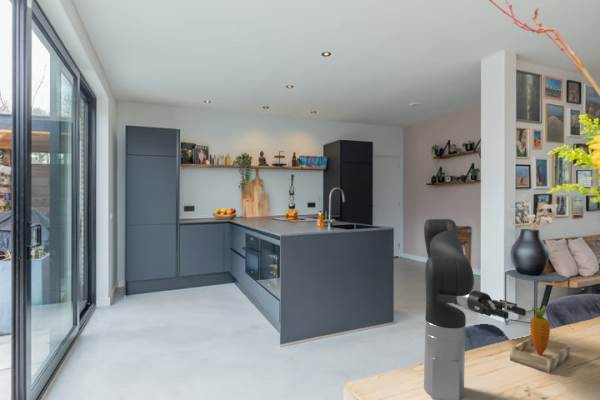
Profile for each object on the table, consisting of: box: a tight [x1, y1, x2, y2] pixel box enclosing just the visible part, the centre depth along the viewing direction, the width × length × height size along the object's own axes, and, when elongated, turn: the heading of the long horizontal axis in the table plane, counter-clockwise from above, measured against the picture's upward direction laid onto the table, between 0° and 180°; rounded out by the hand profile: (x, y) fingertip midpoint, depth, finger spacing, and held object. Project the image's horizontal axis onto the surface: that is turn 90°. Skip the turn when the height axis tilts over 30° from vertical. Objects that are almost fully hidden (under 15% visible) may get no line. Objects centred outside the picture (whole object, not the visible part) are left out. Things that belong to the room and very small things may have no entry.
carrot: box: [529, 305, 551, 355], centre depth 106 cm, size 5×5×15 cm
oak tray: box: [509, 336, 571, 375], centre depth 106 cm, size 18×10×4 cm, turn 127°
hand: (516, 314), depth 113 cm, fingers open, 8 cm apart
